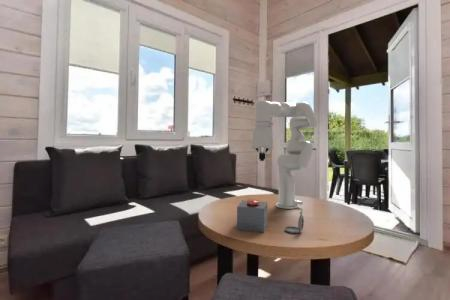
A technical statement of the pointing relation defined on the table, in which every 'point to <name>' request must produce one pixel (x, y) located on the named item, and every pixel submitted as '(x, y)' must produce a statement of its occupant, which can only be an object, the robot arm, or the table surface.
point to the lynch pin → (253, 202)
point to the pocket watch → (300, 225)
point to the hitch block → (252, 217)
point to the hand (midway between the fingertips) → (262, 160)
